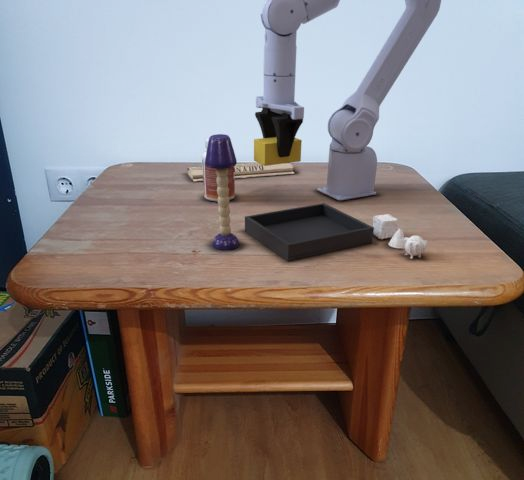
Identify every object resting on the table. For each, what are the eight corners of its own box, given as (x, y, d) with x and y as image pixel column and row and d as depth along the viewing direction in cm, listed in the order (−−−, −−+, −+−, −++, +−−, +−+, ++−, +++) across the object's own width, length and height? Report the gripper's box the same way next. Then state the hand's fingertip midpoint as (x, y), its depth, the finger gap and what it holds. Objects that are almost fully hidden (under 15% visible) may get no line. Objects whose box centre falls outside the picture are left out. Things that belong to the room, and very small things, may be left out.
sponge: (288, 156, 107) (289, 135, 104) (300, 161, 103) (301, 139, 101) (253, 160, 103) (253, 139, 101) (264, 166, 100) (264, 143, 98)
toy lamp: (227, 253, 82) (224, 140, 73) (203, 247, 85) (197, 136, 75) (244, 243, 86) (243, 134, 77) (220, 237, 88) (217, 131, 79)
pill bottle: (240, 199, 105) (240, 140, 99) (213, 204, 102) (211, 144, 96) (225, 191, 110) (223, 134, 104) (198, 196, 107) (195, 138, 101)
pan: (323, 216, 97) (324, 202, 96) (372, 242, 87) (374, 227, 86) (244, 231, 91) (244, 216, 89) (287, 261, 80) (288, 244, 79)
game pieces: (369, 234, 90) (372, 215, 88) (386, 231, 91) (389, 213, 89) (409, 261, 81) (413, 241, 79) (428, 258, 82) (431, 238, 80)
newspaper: (284, 166, 127) (284, 158, 126) (294, 174, 122) (295, 166, 121) (187, 173, 121) (186, 165, 120) (193, 181, 115) (193, 173, 114)
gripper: (241, 71, 99) (242, 147, 106) (280, 80, 88) (278, 164, 96) (274, 70, 102) (272, 144, 109) (315, 78, 91) (311, 160, 98)
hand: (277, 153), depth 103 cm, fingers closed on sponge, 4 cm apart
